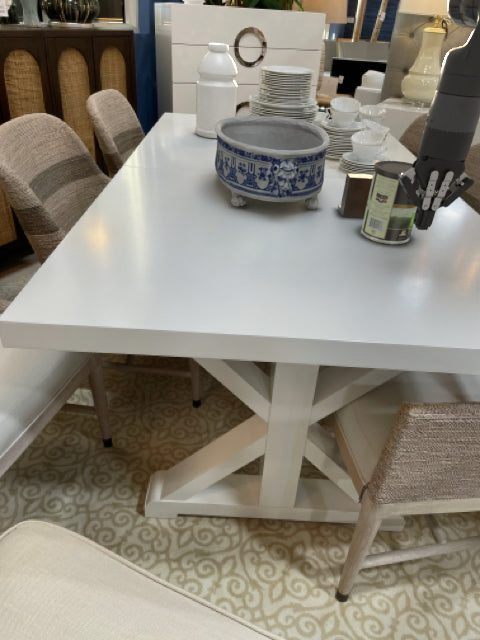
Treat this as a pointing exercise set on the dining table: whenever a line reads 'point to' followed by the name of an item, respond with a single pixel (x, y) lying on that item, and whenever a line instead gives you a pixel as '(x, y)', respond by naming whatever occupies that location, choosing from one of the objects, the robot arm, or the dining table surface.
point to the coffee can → (389, 205)
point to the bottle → (215, 89)
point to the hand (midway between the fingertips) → (421, 228)
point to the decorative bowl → (271, 159)
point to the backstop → (355, 195)
